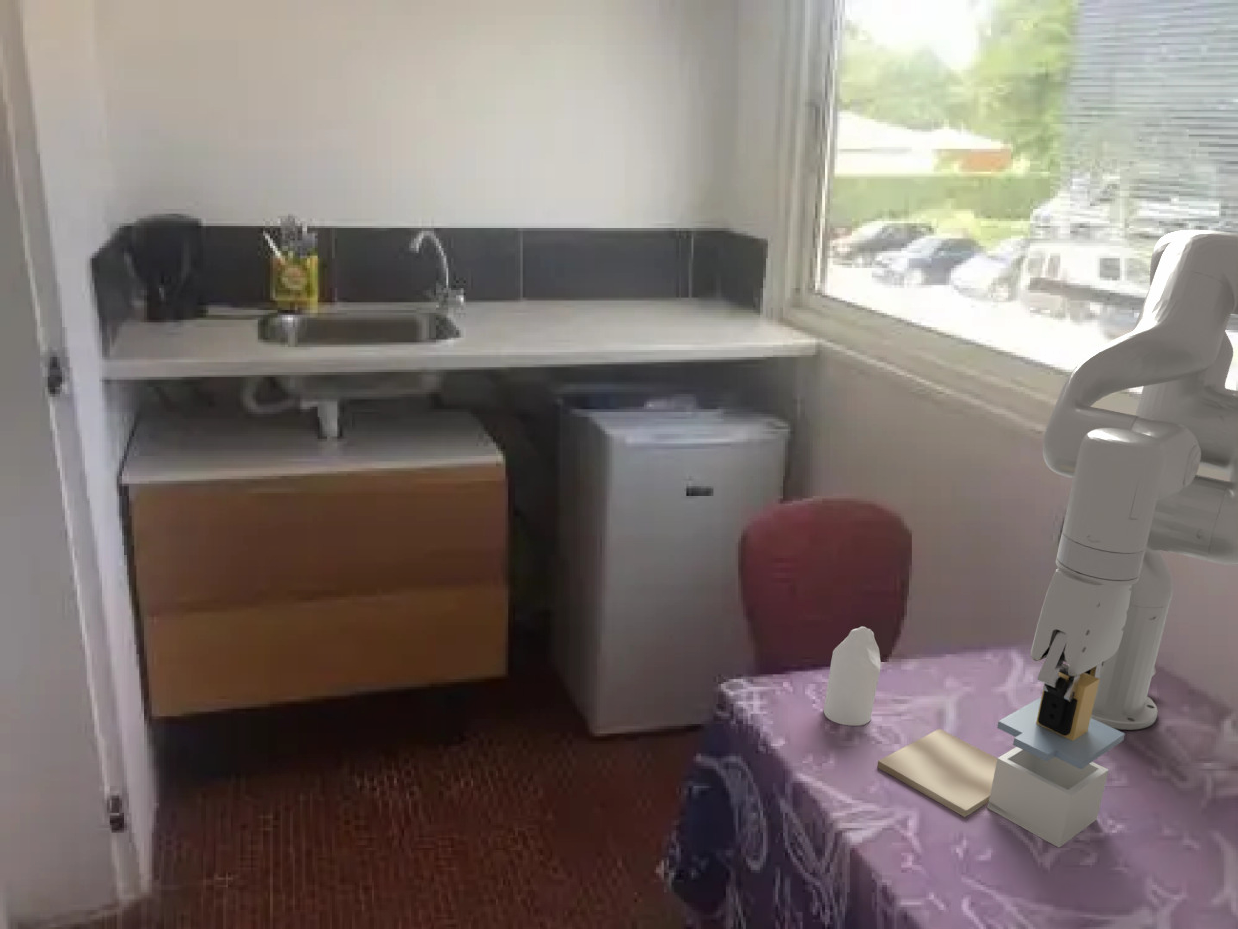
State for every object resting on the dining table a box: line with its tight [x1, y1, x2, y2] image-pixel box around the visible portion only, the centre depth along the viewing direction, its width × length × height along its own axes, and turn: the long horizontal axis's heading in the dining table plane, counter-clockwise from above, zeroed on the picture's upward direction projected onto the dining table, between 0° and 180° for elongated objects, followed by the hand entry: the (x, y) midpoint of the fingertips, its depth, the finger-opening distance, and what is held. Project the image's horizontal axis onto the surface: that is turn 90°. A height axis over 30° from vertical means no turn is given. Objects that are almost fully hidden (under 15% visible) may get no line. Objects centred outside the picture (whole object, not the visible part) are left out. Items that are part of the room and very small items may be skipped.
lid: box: [996, 672, 1126, 769], centre depth 109 cm, size 11×9×7 cm
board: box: [876, 728, 999, 818], centre depth 119 cm, size 12×11×1 cm
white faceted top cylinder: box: [823, 626, 882, 727], centre depth 128 cm, size 6×12×6 cm
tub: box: [986, 746, 1109, 848], centre depth 112 cm, size 8×8×6 cm
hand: (1062, 722), depth 110 cm, fingers closed on lid, 3 cm apart
